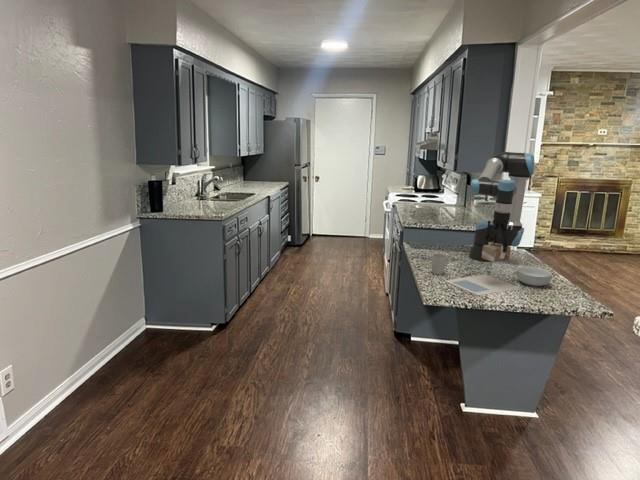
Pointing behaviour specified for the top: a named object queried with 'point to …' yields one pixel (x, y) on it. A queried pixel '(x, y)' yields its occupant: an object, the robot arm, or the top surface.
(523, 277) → the cereal bowl
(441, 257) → the cup
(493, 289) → the mat
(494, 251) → the block
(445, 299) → the top surface
